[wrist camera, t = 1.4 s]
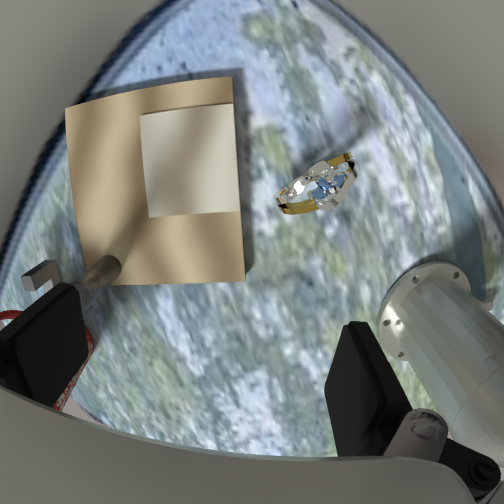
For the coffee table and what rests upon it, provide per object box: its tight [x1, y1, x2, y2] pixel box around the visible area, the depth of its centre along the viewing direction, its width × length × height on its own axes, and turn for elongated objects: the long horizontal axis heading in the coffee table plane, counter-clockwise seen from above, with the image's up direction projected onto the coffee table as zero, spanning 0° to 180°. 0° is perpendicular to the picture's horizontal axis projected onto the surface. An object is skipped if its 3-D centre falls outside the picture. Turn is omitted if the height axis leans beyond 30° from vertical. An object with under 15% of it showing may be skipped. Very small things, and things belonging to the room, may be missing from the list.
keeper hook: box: [21, 255, 122, 314], centre depth 22 cm, size 2×5×12 cm, turn 3°
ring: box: [273, 152, 359, 215], centre depth 23 cm, size 7×3×8 cm, turn 118°
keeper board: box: [65, 76, 246, 285], centre depth 26 cm, size 16×18×2 cm
